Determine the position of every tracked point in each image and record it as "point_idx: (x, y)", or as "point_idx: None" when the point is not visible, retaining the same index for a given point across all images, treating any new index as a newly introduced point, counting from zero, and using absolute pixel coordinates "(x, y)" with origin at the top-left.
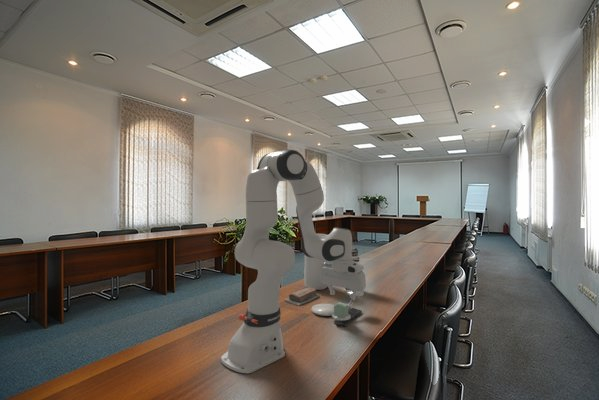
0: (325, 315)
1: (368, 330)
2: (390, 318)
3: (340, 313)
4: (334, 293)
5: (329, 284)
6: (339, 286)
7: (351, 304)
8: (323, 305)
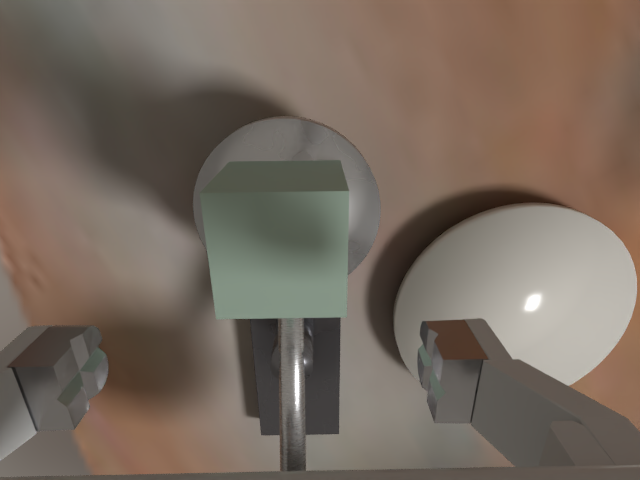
0: (463, 221)
1: (58, 205)
2: (76, 439)
3: (260, 171)
4: (423, 365)
5: (630, 469)
6: (242, 475)
7: (279, 407)
8: (551, 359)
